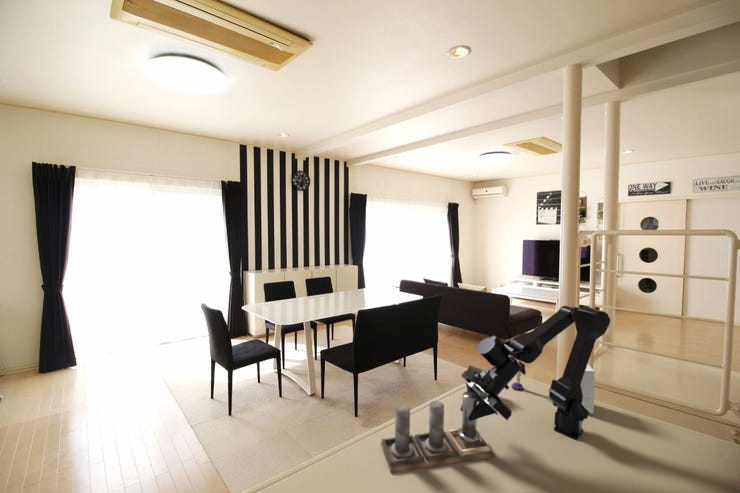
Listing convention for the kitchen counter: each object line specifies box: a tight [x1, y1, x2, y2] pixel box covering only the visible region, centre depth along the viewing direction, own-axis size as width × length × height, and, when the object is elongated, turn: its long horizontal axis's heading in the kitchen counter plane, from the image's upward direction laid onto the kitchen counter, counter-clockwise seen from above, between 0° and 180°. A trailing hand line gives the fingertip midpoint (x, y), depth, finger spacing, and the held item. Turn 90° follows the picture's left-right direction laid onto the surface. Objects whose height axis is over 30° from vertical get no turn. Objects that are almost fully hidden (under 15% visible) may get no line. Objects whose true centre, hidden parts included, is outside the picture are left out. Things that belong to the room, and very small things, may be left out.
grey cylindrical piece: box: [458, 391, 481, 444], centre depth 96 cm, size 6×6×12 cm
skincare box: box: [581, 363, 596, 415], centre depth 116 cm, size 8×6×15 cm
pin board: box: [380, 400, 495, 473], centre depth 94 cm, size 30×11×14 cm, turn 102°
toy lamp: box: [511, 360, 524, 392], centre depth 128 cm, size 5×5×17 cm
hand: (465, 415), depth 95 cm, fingers closed on grey cylindrical piece, 4 cm apart
